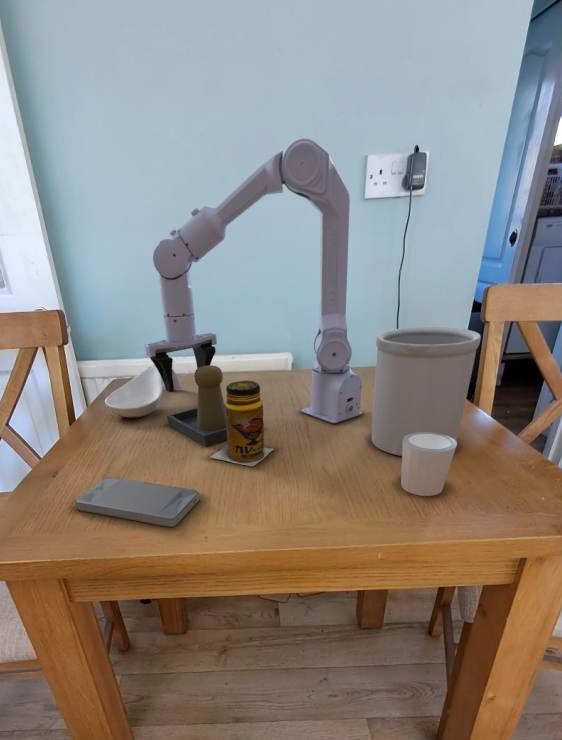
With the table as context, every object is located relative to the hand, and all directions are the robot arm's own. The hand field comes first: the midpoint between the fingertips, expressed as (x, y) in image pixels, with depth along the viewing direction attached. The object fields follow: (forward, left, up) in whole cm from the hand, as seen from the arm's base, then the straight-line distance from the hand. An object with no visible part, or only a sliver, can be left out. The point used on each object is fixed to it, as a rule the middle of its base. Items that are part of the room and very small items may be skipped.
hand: (186, 387), depth 93 cm
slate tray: (-9, 0, -6) cm, 11 cm away
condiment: (-23, +3, -6) cm, 24 cm away
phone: (-27, +24, -6) cm, 37 cm away
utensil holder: (-38, -22, -6) cm, 44 cm away
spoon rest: (+12, +3, -6) cm, 14 cm away
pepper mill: (-9, 0, -6) cm, 11 cm away
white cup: (-49, -10, -6) cm, 50 cm away
